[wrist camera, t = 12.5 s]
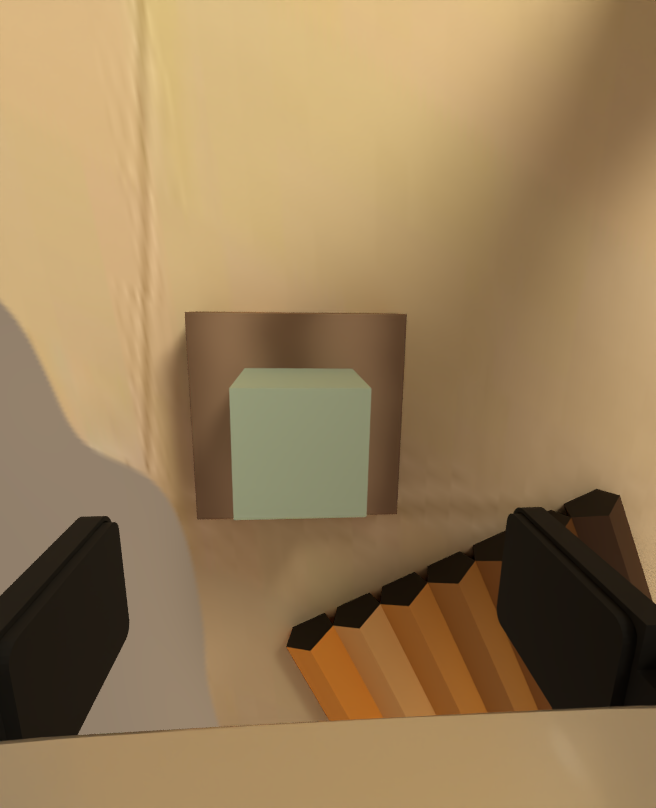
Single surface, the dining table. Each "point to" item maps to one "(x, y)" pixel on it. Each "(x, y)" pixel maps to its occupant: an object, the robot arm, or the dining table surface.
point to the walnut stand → (292, 348)
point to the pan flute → (444, 632)
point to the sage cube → (299, 443)
